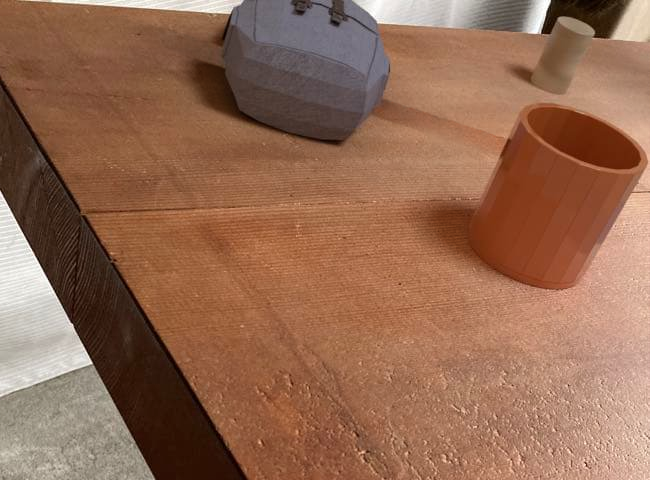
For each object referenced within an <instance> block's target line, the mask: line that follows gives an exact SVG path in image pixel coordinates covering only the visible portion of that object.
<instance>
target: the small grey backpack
mask: <svg viewBox="0 0 650 480" xmlns="http://www.w3.org/2000/svg"><path fill="white" fill-rule="evenodd" d="M220 42H223V44H222V49H221V54H220V55H221V56H220V57H221V59H222V60H223V61H224V62H225V71H224V73H225V74H224V75H225V77H226V80H227V82H228V84H229V86H230V89H231V92H232V93H233V95H234V99H235V102H236V104H237V108H238V110H239V111H240V112H243V114H245V115H247V116H249V117H251V118H252V119H254V120H256V121H257V122H259V123H262V124H265V125H268V126H270V127H273V128H276V129H277V130H281V131H283V132H286V133H289V134H292V135H293V134H294V135H299V136H304V137H307V138H313V139H318V140H329V141H334V140H335V141H344V140H345V139H347V137H349V136H350V135H351V134H353V133H354V132H355V131H356V130H357V129H358V128H359V127H360V126H361V125H362V124H363V123H364V122H365V121H366V120H367V119H368V118H370V115H371V113H372V111H373V109H374V107H378V106H380V105H381V102H382V98H383V95H384V92H385V90H386V88H387V84H388V80H389V77H390V73H391V59H390V56H389V55H387V53H385V47H384V46H385V45H384V41H383V38H382V37H381V34H380V30H379V25H378V21H377V20H376V18H375V17H373V15H371V13H370V12H369V11H367V10H365V9H364V8H363V7H361V6H360V5H359V4H358V3H356V2H355V1H354V0H242V1H241V3H240V4H238V5H236V6H233V7H232V10H231V11H230V14H229V17H228V18H227V22H226V25H225V28H224V31H223V34H222V37H221V40H220Z"/></svg>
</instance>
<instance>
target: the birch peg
mask: <svg viewBox="0 0 650 480" xmlns="http://www.w3.org/2000/svg"><path fill="white" fill-rule="evenodd" d="M595 34H596V31H595V29H594V28H593V27H592V26H590V25H589V24H587V23H585V22H583V21H581V20H579V19H576V18H574V17H571V16H559V17H557V19H556V20H555V24H554V25H553V28H552V30H551V32H550V34H549V36H548V38H547V41H546V43H545V46H544V47H543V50H542V52H541V54H540V57H539V59H538V61H537V63H536V64H535V65H536V66H535V68H534V69H533V72H532V75H531V76H530V82H531V83H532V84H533V85H534V86H535V87H537V88H538V89H540V90H542V91H544V92H546V93H549V94H553V95H557V96H564V95H566V94H567V92H568V90H569V88H570V86H571V84H572V81H573V80H574V78H575V76H576V74H577V72H578V69H579V68H580V66H581V64H582V61H583V59H584V57H585V55H586V53H587V51H588V49H589V47H590V44H591V43H592V40H593V38H594V37H595Z"/></svg>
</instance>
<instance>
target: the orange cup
mask: <svg viewBox="0 0 650 480" xmlns="http://www.w3.org/2000/svg"><path fill="white" fill-rule="evenodd" d="M648 165H649V159H648V155H647V152H646V151H645V150H644V148H642V146H641V145H640V144H639V142H638V141H636V140H635V139H634V137H632V136H631V135H629V134H628V133H627V132H626V131H624V130H623V129H621V128H619V127H617V126H616V125H615V124H613V123H612V122H609V121H607V120H606V119H603V118H601V117H599V116H597V115H594V114H593V113H590V112H587V111H584V110H581V109H578V108H576V107H572V106H569V105H564V104H558V103H555V102H554V103H553V102H534V103H530V104H527V105H525V106H524V107H523V108H522V109H521V110H520V111H519V113H518V115H517V117H516V120H515V122H514V124H513V126H512V129H511V130H510V133H509V135H508V137H507V139H506V141H505V144H504V146H503V147H502V150H501V152H500V154H499V157H498V159H497V160H496V163H495V165H494V168H493V169H492V172H491V175H490V177H489V179H488V181H487V183H486V186H485V188H484V189H483V193H482V194H481V196H480V198H479V201H478V203H477V205H476V207H475V209H474V212H473V214H472V217H471V218H470V221H469V224H468V226H467V230H466V237H467V240H468V243H469V244H470V247H471V248H472V250H473V251H474V252H475V253H476V255H478V256H479V258H481V260H483V261H484V262H485V263H486V264H488V265H489V266H490V267H491V268H493V269H495V270H496V271H498V272H500V273H501V274H503V275H504V276H507V277H509V278H511V279H513V280H516V281H518V282H520V283H523V284H526V285H528V286H529V285H530V286H533V287H536V288H541V289H549V290H564V289H569V288H572V287H574V286H576V285H578V284H579V283H580V282H581V281H582V280H583V278H584V277H585V275H586V274H587V272H588V270H589V268H590V266H591V264H592V263H593V261H594V259H595V257H596V255H597V254H598V253H599V251H600V249H601V247H602V245H603V244H604V242H605V240H606V238H607V236H608V235H609V233H610V232H611V230H612V229H613V226H614V224H615V223H616V221H617V219H618V218H619V216H620V214H621V212H622V210H623V208H624V207H625V205H626V204H627V202H628V200H629V198H630V197H631V196H632V193H633V191H634V190H635V188H636V187H637V185H638V182H639V181H640V179H641V177H642V176H643V174H644V173H645V171H646V168H647V166H648Z"/></svg>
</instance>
